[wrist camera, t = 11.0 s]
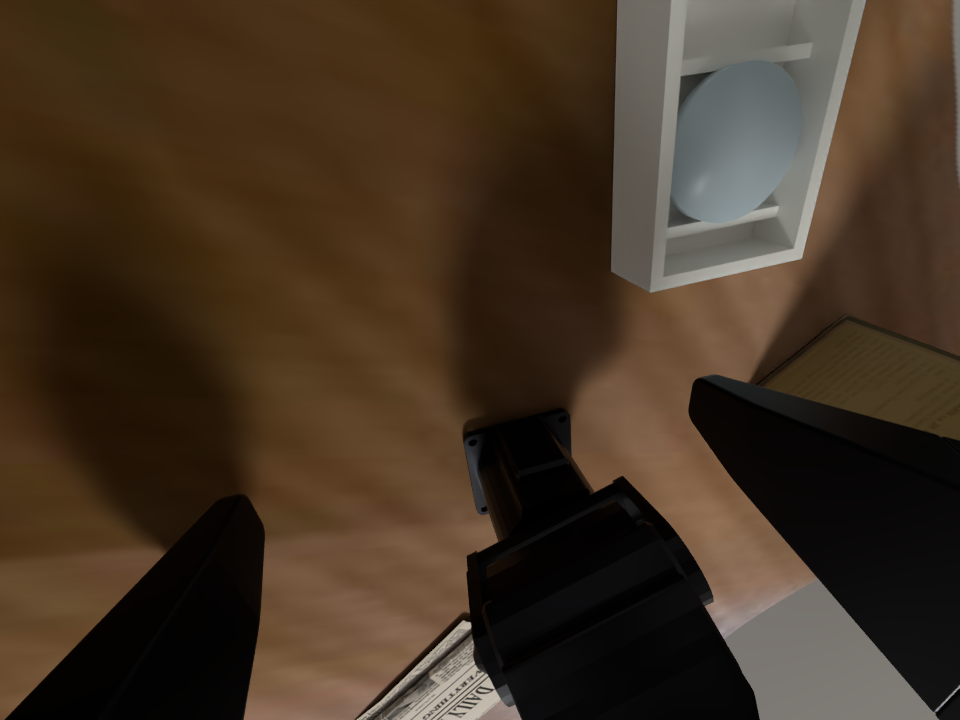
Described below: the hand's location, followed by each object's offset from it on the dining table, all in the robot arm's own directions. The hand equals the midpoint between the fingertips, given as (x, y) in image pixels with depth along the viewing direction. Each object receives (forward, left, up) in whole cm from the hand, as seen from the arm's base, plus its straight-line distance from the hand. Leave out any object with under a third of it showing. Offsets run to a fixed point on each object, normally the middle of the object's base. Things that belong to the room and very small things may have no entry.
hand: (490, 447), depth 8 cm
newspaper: (-38, +6, -14) cm, 41 cm away
